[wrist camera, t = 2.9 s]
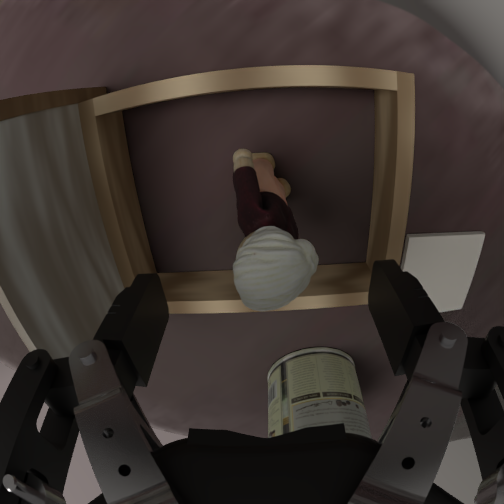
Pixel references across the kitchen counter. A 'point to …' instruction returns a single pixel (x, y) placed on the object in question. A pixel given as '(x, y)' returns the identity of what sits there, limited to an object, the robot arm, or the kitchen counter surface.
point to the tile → (443, 264)
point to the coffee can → (315, 392)
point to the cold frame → (128, 209)
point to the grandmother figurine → (267, 237)
